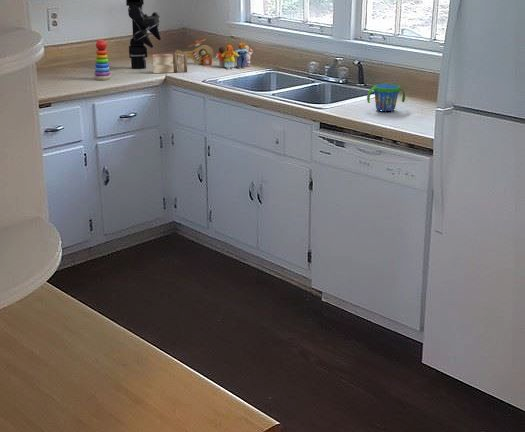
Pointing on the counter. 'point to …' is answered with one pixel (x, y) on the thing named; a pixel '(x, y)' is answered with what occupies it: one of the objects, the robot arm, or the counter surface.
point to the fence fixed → (182, 62)
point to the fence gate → (165, 63)
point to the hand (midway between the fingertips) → (156, 43)
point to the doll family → (229, 60)
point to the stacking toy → (101, 62)
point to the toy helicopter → (197, 51)
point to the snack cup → (386, 96)
